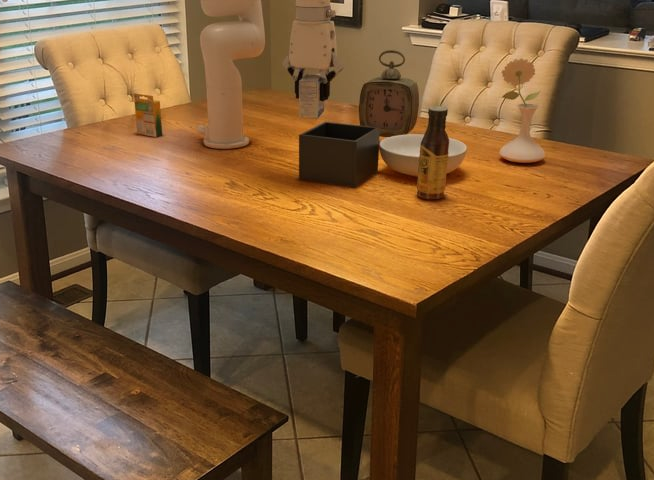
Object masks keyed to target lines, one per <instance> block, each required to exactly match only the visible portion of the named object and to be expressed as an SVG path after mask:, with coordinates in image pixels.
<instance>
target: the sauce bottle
mask: <svg viewBox="0 0 654 480" xmlns="http://www.w3.org/2000/svg"><path fill="white" fill-rule="evenodd" d="M448 111H449V109H448V108H447V107H446V106H441V105H434V106H430V107H428V112H427V115H428V120H427V127H426V129H425V132H424V133H423V134H424V137H423V139H422V141H421V145H420V155H419V167H418V177H417V182H416V190H417V192H416V195H417V196H418V197H419V198H421V199H422V200H431V201H432V200H440V199H442V198H444V196H445V195H444V194H445V191H446V183H447V174H448V173H447V164H448V154H449V152H448V149H449V138H450V137H449V135H448V133H447V131H446V128H447V126H446V124H447V117H448V114H449V113H448Z"/></svg>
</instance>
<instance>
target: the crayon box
mask: <svg viewBox="0 0 654 480" xmlns="http://www.w3.org/2000/svg"><path fill="white" fill-rule="evenodd" d="M140 97H142V98H140ZM143 97H144V98H143ZM133 99H134V101H133V102H134V111H135V113H134V114H135V124H136V134H137V135H143V136H147V137H154V138H157V137H161V136H163V125H162V113H161V112H162V111H161V101H160V100H154V96H153V95H151V94H150V95H148V94H142V93H133Z"/></svg>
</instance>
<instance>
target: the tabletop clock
mask: <svg viewBox="0 0 654 480" xmlns="http://www.w3.org/2000/svg"><path fill="white" fill-rule="evenodd" d="M386 54H396V55H398V56H400V57H402V62H401V63H398V64H395V62H394V61H393V60H391V61H390V62H389V63H385V62H383V61H382V59H381V58H382V57H383V55H386ZM378 61H379V63H380V64H381V65H382V66H383V67H387V68H385V69H384V70H383V71H382V73H381V75H380V76H377V77H374V78H372V79H370V80H368V81H367V82H365V83H363V84H362V87H361V89H360V95H359V104H358V121H359V125H360V126H369V127H379V128H380V137H381V138H389V137H392V136H398V135H408V134H410V132H412V131H413V130H414V129H415V126H416V125H417V121H418V115H419V108H420V92H419V91H420V90H419V86H418V84H417V81H415V80H413V79H410V78H406V77H402V74H401V73H400V70H398V69H397V68H398V67H402V65H404V64H405V62H406V57H405V55H404V54H403V53H402V52H401V51H399V50H395V49H394V50H393V49H389V50H384V51H382V52H381V53H380V54H379V56H378Z"/></svg>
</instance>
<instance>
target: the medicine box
mask: <svg viewBox="0 0 654 480" xmlns="http://www.w3.org/2000/svg"><path fill="white" fill-rule="evenodd" d="M321 83H322V78H321V75H320V73H306V74H305V75H303V78H302V79H301V80H299V99H298V115H299V119H305V120H306V119H307V120H318V119H319V118H320V117H321V115H322V114H323V113H324V112H325V101H320V84H321Z"/></svg>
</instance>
